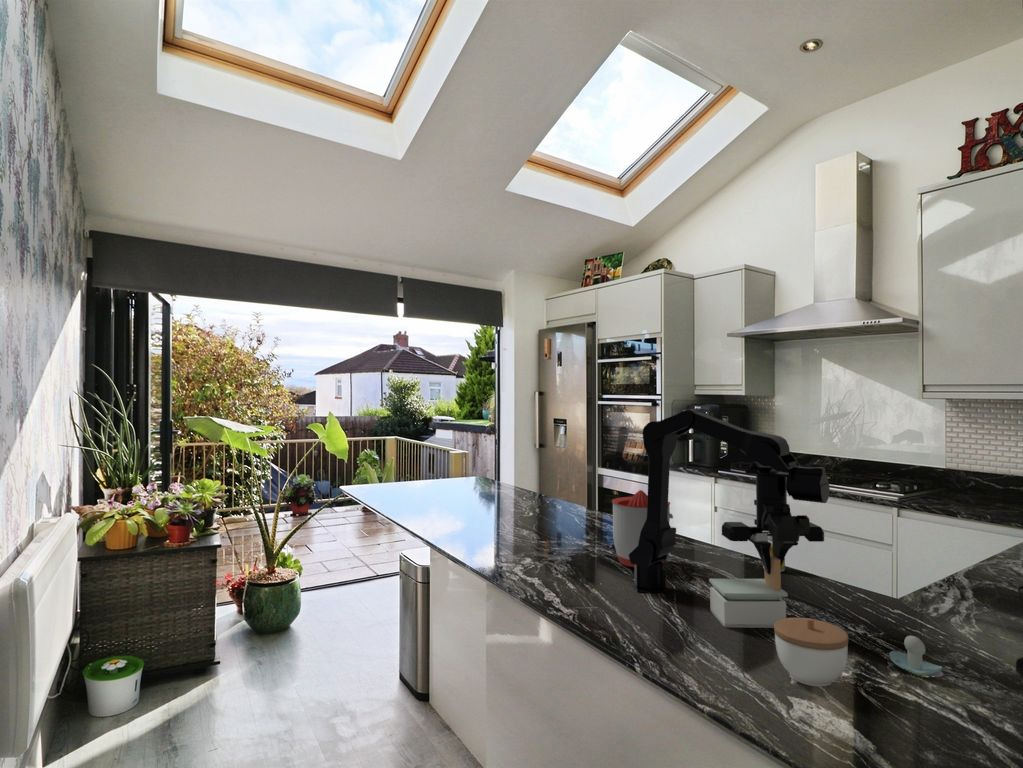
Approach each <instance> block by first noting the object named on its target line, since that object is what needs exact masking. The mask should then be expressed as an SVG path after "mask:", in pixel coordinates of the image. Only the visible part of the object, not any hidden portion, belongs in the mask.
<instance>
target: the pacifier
mask: <svg viewBox="0 0 1023 768" xmlns="http://www.w3.org/2000/svg"><path fill="white" fill-rule="evenodd" d="M903 643H904V647H905V650H907V654H905V653H903V652H900V651H896V650H892V651H890V652H889V659H890V660H891V661H892V662H893V663H894V665H896V666H897V667H899V668H901V669H905V670H907V671H909V672H912V673H915V674H919V675H923V676H924V675H925V676H929V677H930V676H935V677H934V678H943V677H942V676H944V673H943V671H941V670H943V667H942V666H941V665H937V664H933V663H930V662H926V661H923V655H925V654H926V646H925V643H924V642H923V641H922V640H921V639H920V638H919V637H917V636H914V635H907V636H906V637H905V638H904V642H903Z"/></svg>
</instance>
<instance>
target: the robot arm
mask: <svg viewBox="0 0 1023 768" xmlns="http://www.w3.org/2000/svg"><path fill="white" fill-rule="evenodd" d="M691 429H692V430H693V431H694V430H695V431H697V432H699V433H702V434H705V435H707V436H709V437H711V438H714V439H717V440H719V441H721V442H724V443H726V444H729V445H731V446H733V447H735V448H737V449H738V450H740V451H741V452H742V453H744V455H746V456H747V457H749V458H751V459H752V460H753V461H755V462H752V465H750V466H749V467H748V468H747V469H746V470H745V471H744V472H745V474H748V475H755V485H756V486H755V489H756V490H755V492H756V493H755V495H756V497H755V498H756V499H754V500H753V505H754V506H756V507H755V508H756V509H755V510H756V519H755V518H754V521H753V522H754V525H755V526H749V525H747V524H745V523H744V522H742V521H724V522H723V523H722V526H721V536H723V537H725V538H726V539H727V540H728V541H731V542H748V541H749V542H751V543H752V544H753V545H754V547H755V550H756V551H757V553H758V556H759V558H760V560H761V563H762V566H763V565H764V568H765V570H766V573H767V574H770V573H771V562H770V547H771V543H770V542H768V536H772V546H773V555H774V556H775V557H777V558H778V559H780V568H781V565H782V563H783V560H784V558H785V559H786V555H787V553H788V551H789V550H790V549H791V548H792V547H794V546H798V545H799V541H800V537H804V538H805V539H806V540H807V541H808V542H813V543H815V542H818V543H819V542H820V543H821V542H825V531H824V529H823V528H822V527H821V526H820V525H818V524H815V523H812V522H810V517H808V515H806V514H805V515H803V514H802V515H800V514H799V515H798V514H797V515H792V513H791V507H790V504H788V503H787V501H788V499H787V497H788V496H789V497H791V498H792V500H795V501H802V502H803V501H804V502H810V503H811V502H812V503H820V504H826V503H827V502H828V500H829V498H830V490H831V489H830V483H829V479H828V475H827V474H826V468H825V467H824V466H823V467H821V466H817V467H808V466H802V465H801V464H800V463H799V461H798V460H797V458H796V457H794V455H793V454H792V452H791V451H790V446H789V443H788V441H787V439H785V438H784V437H782V436H780V435H778V434H777V435H776V434H772V433H766V432H760V431H753V430H749V429H745V428H743V427H740V426H737V425H734V424H732V423H730V422H727V421H725V420H722V419H719V418H717V417H714V416H711V415H710V414H709V415H708V414H706V413H703V412H702V411H700V410H699V409H696V408H695V409H693V408H689V409H688V408H687V409H684V410H683V409H682V411H680V412H678V413H677V414H676V413H675V414H674V415H672V416H669V417H667V418H664V419H661V420H656V421H649V422H648V423H646V424H645V425H644V427H643V429H642V441H643V448H644V450H645V451H646V454H647V457H648V476H647V477H648V478H647V483H648V484H647V496H648V497H647V518H646V521H645V523H644V525H643V528H642V530H641V532H640V537H639V542H638V546H637V547H636V548H635V549H634V550H633V551H632V552H631V553H630V554H629V559H630V562H631V564H634V567H633V568H634V569H633V570H634V571H633V573H634V575H633V576H634V580H633V581H632V585H633V587H634V588H635V590H636V591H637V592H639V593H665V592H666V585H667V584H666V583H667V580H666V579H667V578H666V577H667V575H666V571H667V570H666V569H665V567H664V563H662V562H661V561H663V560H665V561H666V560H667V558H668V555H669V554H670V553H671V552H672V551H673V550H674V546H675V545H677V542H676V535H677V528H676V527H671V524H670V521H669V522H668V502H669V493H670V491H669V489H670V488H669V487H670V486H669V484H670V464H671V463H670V462H671V458H672V456H673V454H674V451H675V450H676V447H677V443H678V438H679V437H680V436H681V435H684V434H686V433H687V432H688V431H690V430H691ZM768 531H769V532H768ZM764 568H763V569H764Z"/></svg>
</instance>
